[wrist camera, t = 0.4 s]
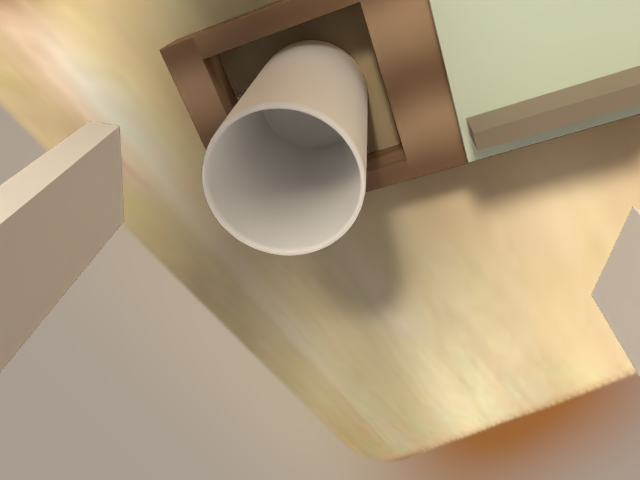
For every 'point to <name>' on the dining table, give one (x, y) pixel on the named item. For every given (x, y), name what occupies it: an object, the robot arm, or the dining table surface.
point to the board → (394, 62)
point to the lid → (537, 67)
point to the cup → (292, 152)
